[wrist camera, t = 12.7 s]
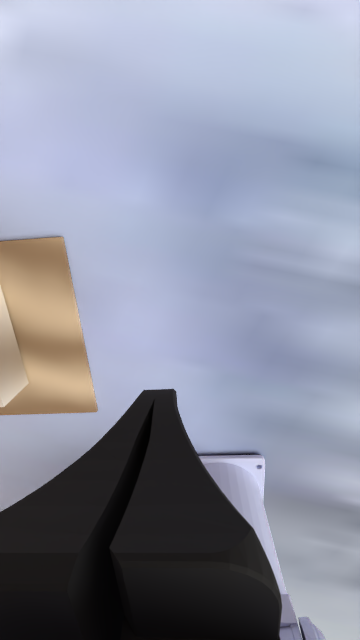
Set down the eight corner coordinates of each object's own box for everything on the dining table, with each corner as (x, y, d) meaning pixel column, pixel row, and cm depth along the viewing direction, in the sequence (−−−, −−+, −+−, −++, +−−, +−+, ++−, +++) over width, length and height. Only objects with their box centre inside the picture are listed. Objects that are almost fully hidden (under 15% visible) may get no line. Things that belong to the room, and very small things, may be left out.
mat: (97, 409, 23) (96, 412, 22) (-38, 414, 23) (-40, 416, 23) (63, 236, 18) (61, 237, 18) (-104, 248, 19) (-108, 248, 18)
